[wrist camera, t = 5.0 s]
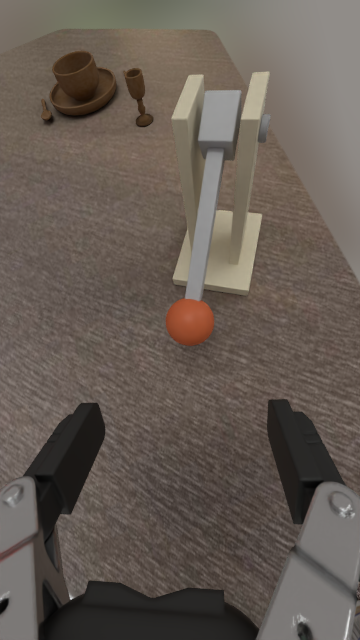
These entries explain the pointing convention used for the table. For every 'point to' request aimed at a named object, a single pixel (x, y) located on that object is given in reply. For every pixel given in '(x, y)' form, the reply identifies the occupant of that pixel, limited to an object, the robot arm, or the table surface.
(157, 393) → the table surface
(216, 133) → the lever
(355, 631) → the pill bottle
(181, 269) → the bracket
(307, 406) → the table surface
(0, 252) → the table surface
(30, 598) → the robot arm
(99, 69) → the place setting
